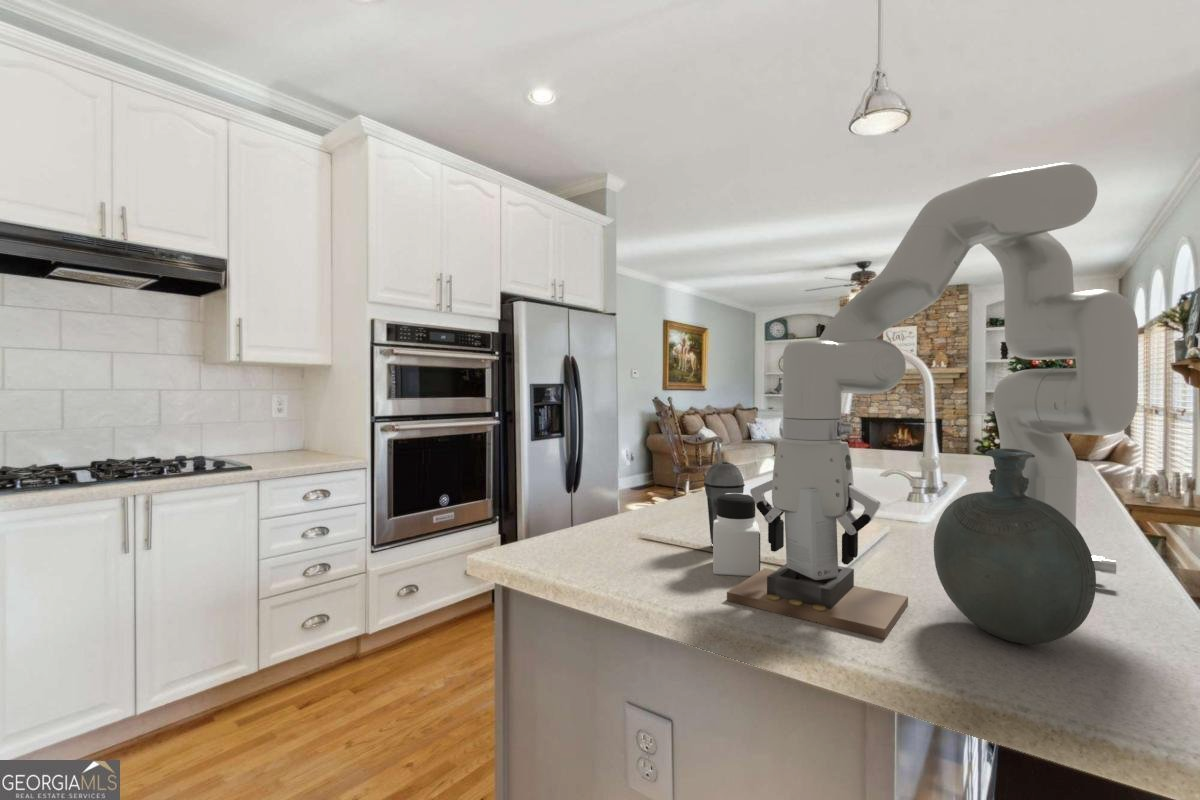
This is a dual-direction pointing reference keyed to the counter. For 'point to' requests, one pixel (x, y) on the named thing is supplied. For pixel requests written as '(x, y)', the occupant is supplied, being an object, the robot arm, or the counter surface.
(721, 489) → the beverage cup
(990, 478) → the flask
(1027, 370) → the robot arm
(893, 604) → the board
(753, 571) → the medicine bottle
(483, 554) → the counter surface
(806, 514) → the skincare box
